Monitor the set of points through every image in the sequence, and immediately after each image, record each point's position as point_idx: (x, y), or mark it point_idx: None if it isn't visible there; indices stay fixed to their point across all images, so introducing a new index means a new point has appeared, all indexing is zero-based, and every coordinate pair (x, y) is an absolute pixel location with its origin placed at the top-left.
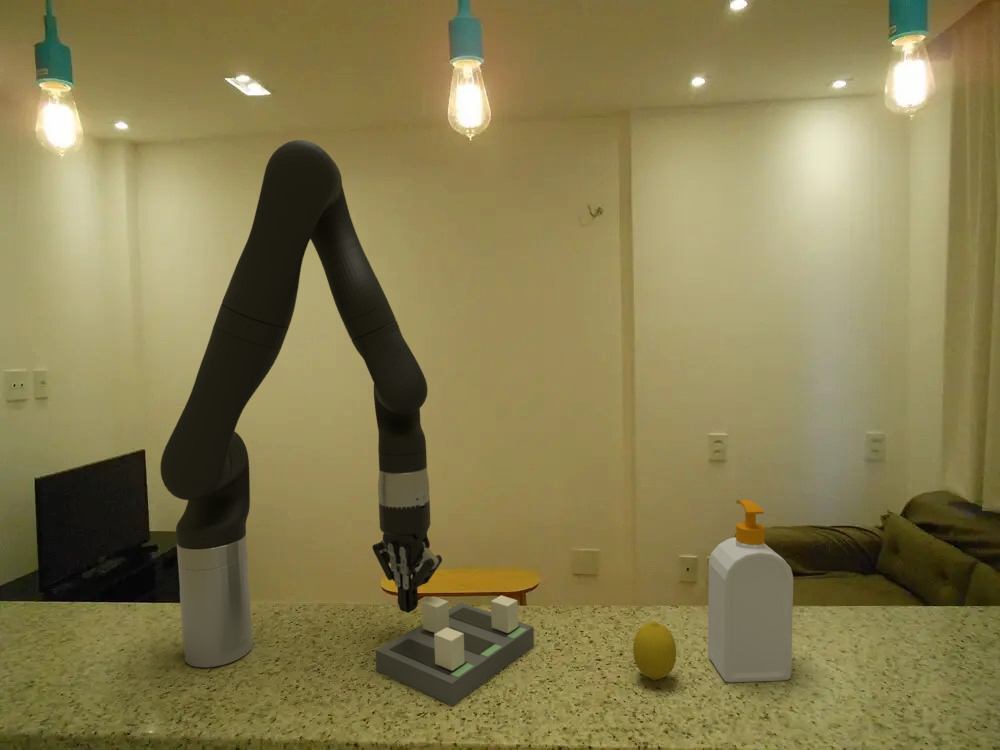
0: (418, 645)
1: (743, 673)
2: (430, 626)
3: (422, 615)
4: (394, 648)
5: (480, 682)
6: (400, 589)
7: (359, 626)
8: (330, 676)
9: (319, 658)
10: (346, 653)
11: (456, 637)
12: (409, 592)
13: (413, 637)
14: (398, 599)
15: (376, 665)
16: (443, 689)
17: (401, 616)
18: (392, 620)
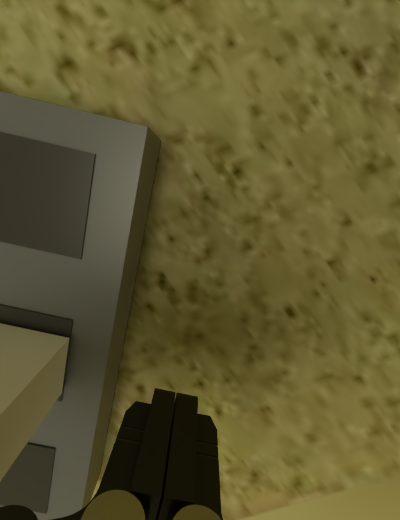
0: (7, 225)
1: None
2: (15, 339)
3: (40, 370)
4: (80, 167)
5: None
6: (178, 490)
7: (374, 352)
8: (289, 43)
9: (395, 131)
10: (321, 196)
11: None
12: (114, 482)
13: (71, 276)
14: (213, 441)
15: (157, 137)
16: None
17: (279, 443)
18: (292, 415)
